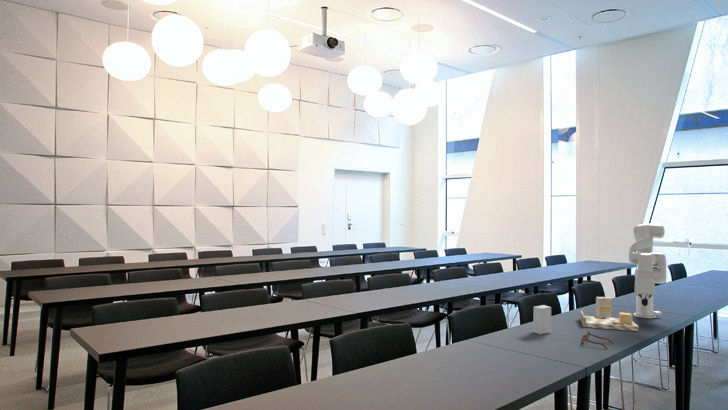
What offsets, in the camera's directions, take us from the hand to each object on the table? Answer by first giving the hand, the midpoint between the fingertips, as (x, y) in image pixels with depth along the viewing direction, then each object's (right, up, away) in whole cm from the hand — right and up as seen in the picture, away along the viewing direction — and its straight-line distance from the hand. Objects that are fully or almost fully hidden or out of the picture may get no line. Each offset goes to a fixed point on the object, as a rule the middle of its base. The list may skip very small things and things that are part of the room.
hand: (644, 305), depth 287 cm
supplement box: (-12, -13, +25) cm, 31 cm away
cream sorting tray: (-18, -13, +6) cm, 23 cm away
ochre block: (-9, -11, +4) cm, 15 cm away
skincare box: (-65, -13, -12) cm, 67 cm away
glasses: (-44, -14, -34) cm, 57 cm away
